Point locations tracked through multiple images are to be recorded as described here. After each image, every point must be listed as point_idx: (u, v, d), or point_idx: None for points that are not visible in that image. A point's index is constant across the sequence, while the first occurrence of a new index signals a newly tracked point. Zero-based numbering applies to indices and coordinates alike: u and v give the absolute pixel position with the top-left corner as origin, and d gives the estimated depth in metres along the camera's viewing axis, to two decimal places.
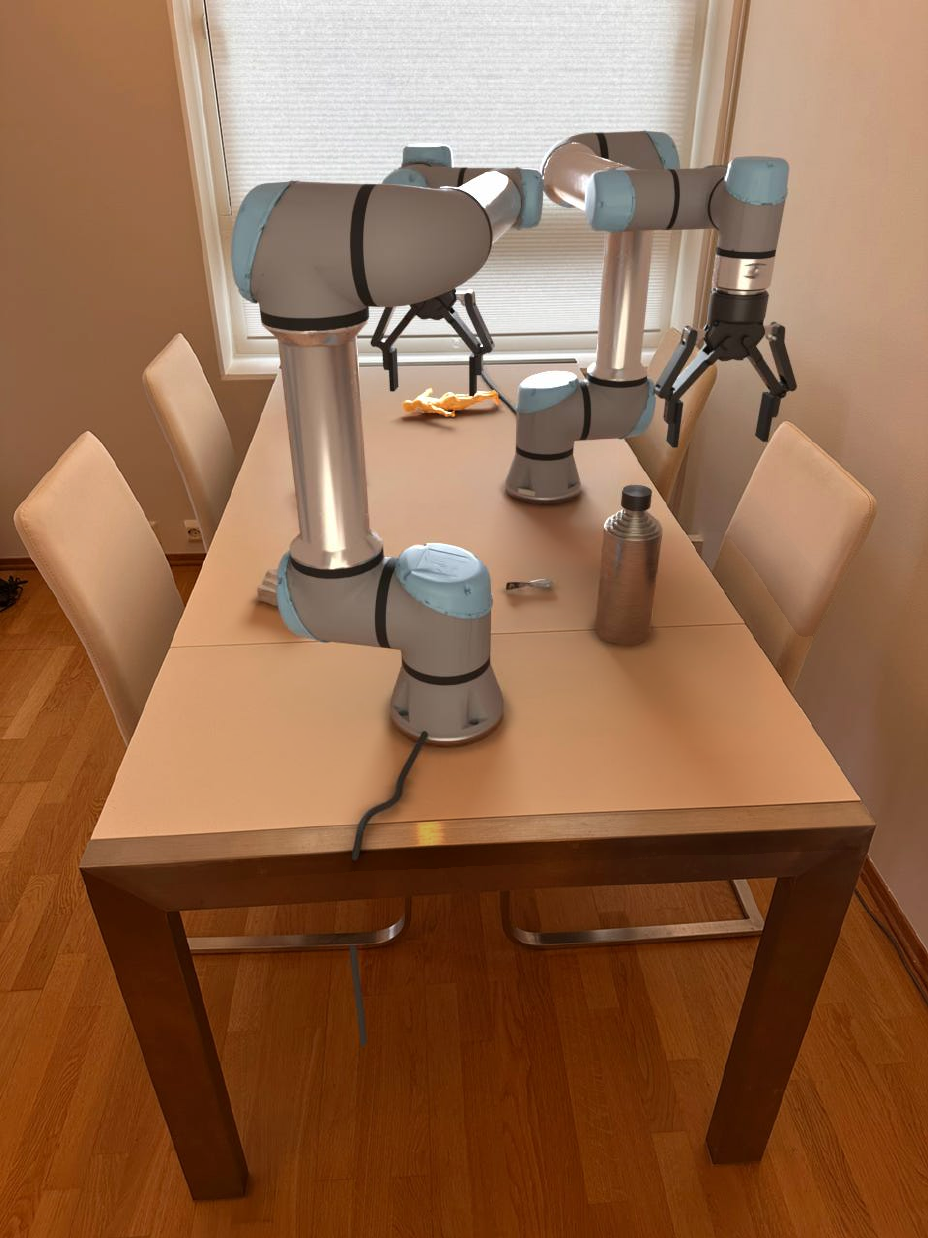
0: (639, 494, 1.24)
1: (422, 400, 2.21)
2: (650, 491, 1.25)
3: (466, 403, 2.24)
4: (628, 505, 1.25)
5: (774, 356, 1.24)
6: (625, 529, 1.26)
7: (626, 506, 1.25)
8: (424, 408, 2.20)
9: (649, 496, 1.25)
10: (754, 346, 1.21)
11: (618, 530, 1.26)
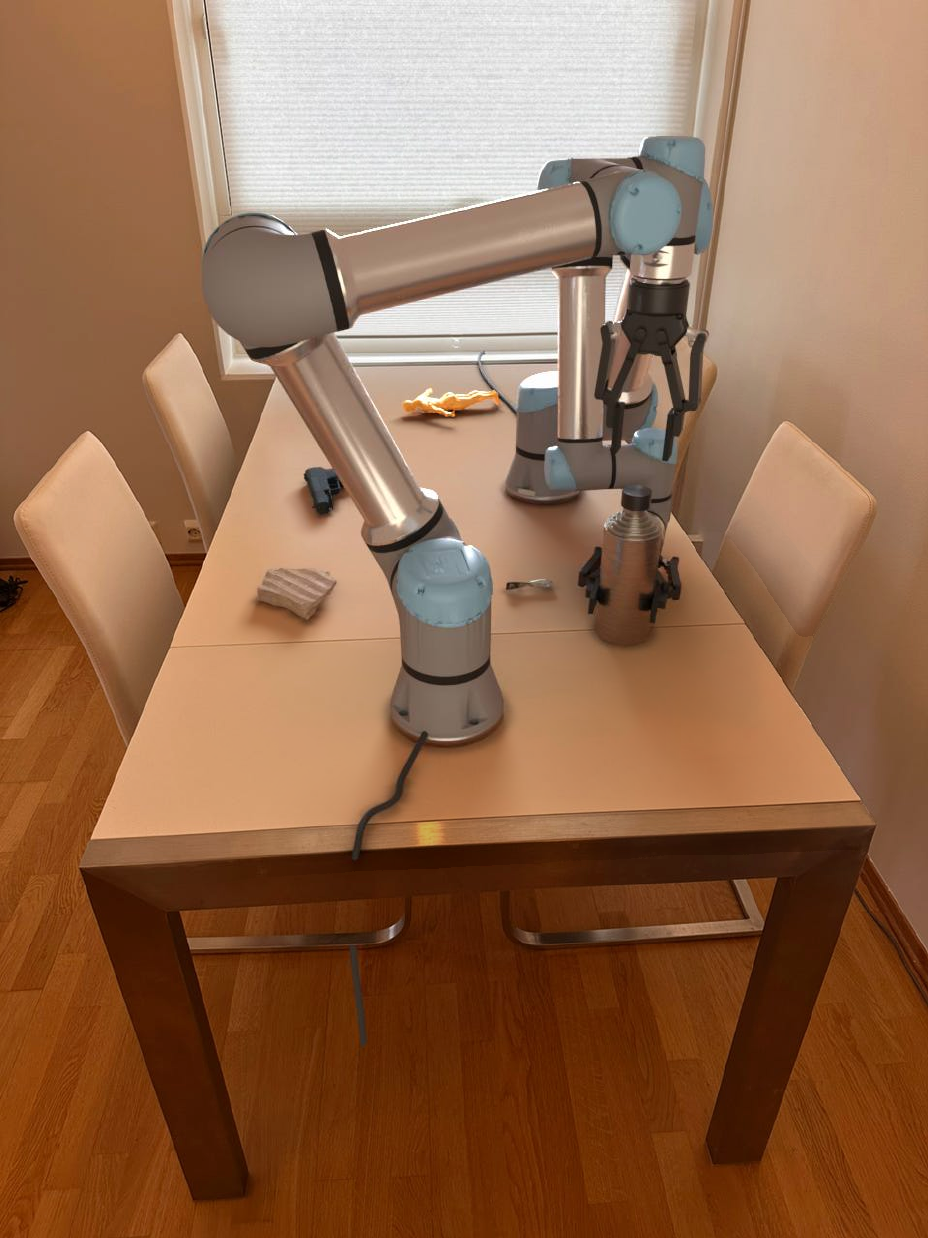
0: (639, 494, 1.24)
1: (422, 400, 2.21)
2: (650, 491, 1.25)
3: (466, 403, 2.24)
4: (628, 505, 1.25)
5: (596, 563, 1.42)
6: (625, 529, 1.26)
7: (626, 506, 1.25)
8: (424, 408, 2.20)
9: (649, 496, 1.25)
10: None
11: (618, 530, 1.26)
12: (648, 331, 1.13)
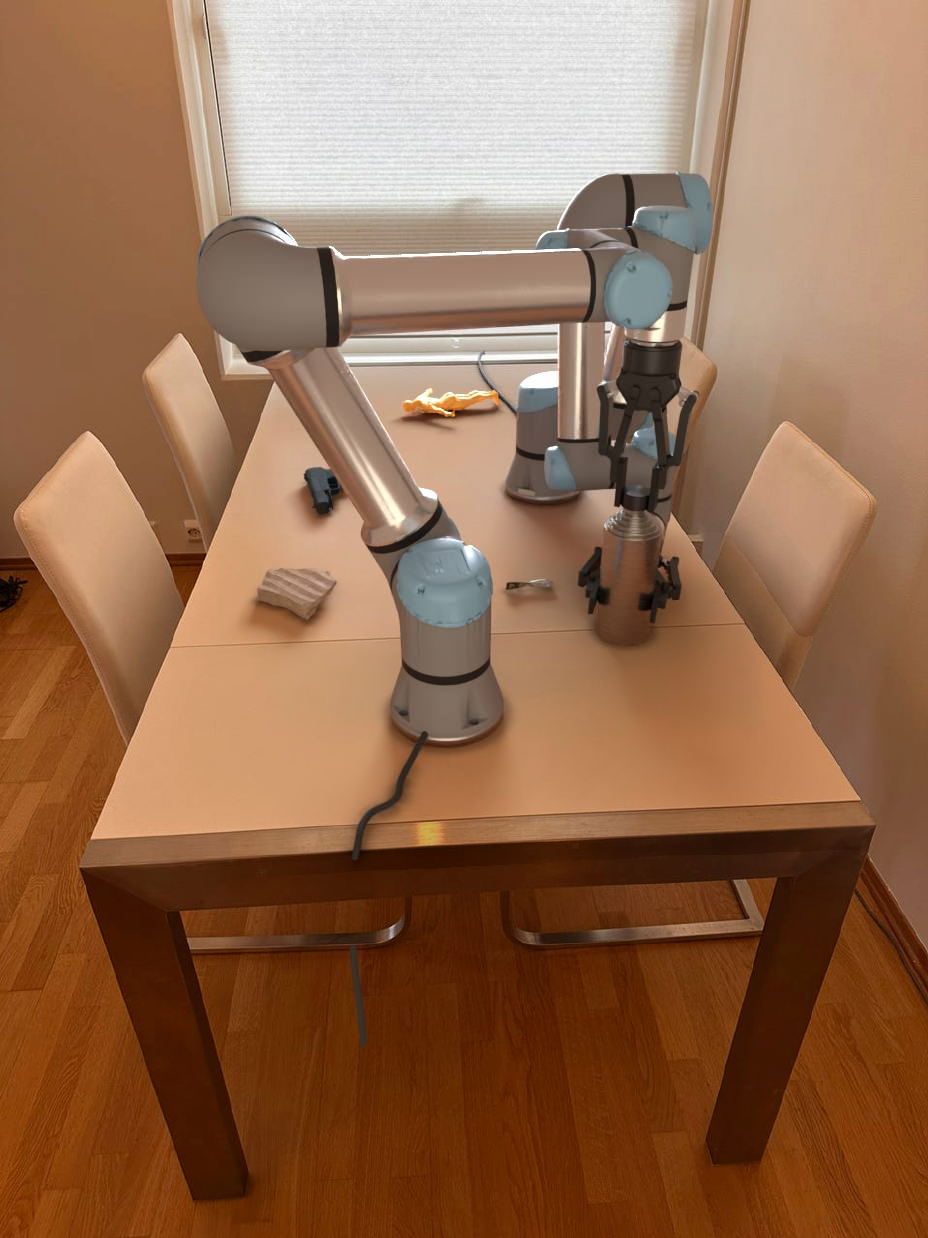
0: (639, 494, 1.24)
1: (422, 400, 2.21)
2: None
3: (466, 403, 2.24)
4: (628, 505, 1.25)
5: (596, 563, 1.42)
6: (625, 529, 1.26)
7: (626, 506, 1.25)
8: (424, 408, 2.20)
9: None
10: None
11: (618, 530, 1.26)
12: (642, 389, 1.17)
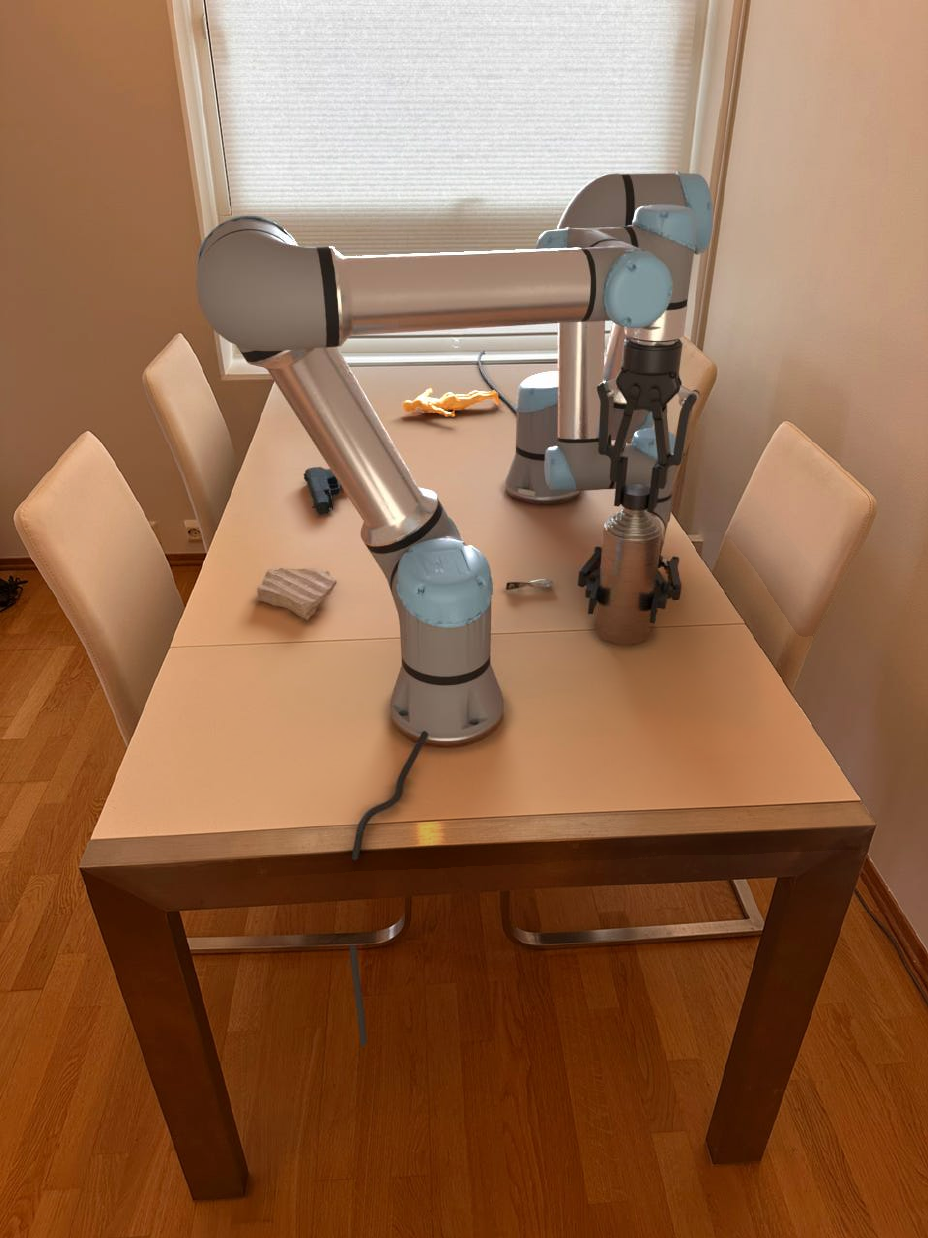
0: (645, 488, 1.26)
1: (422, 400, 2.21)
2: (634, 484, 1.27)
3: (466, 403, 2.24)
4: None
5: (596, 563, 1.42)
6: (625, 529, 1.26)
7: None
8: (424, 408, 2.20)
9: None
10: None
11: (618, 530, 1.26)
12: (642, 388, 1.17)
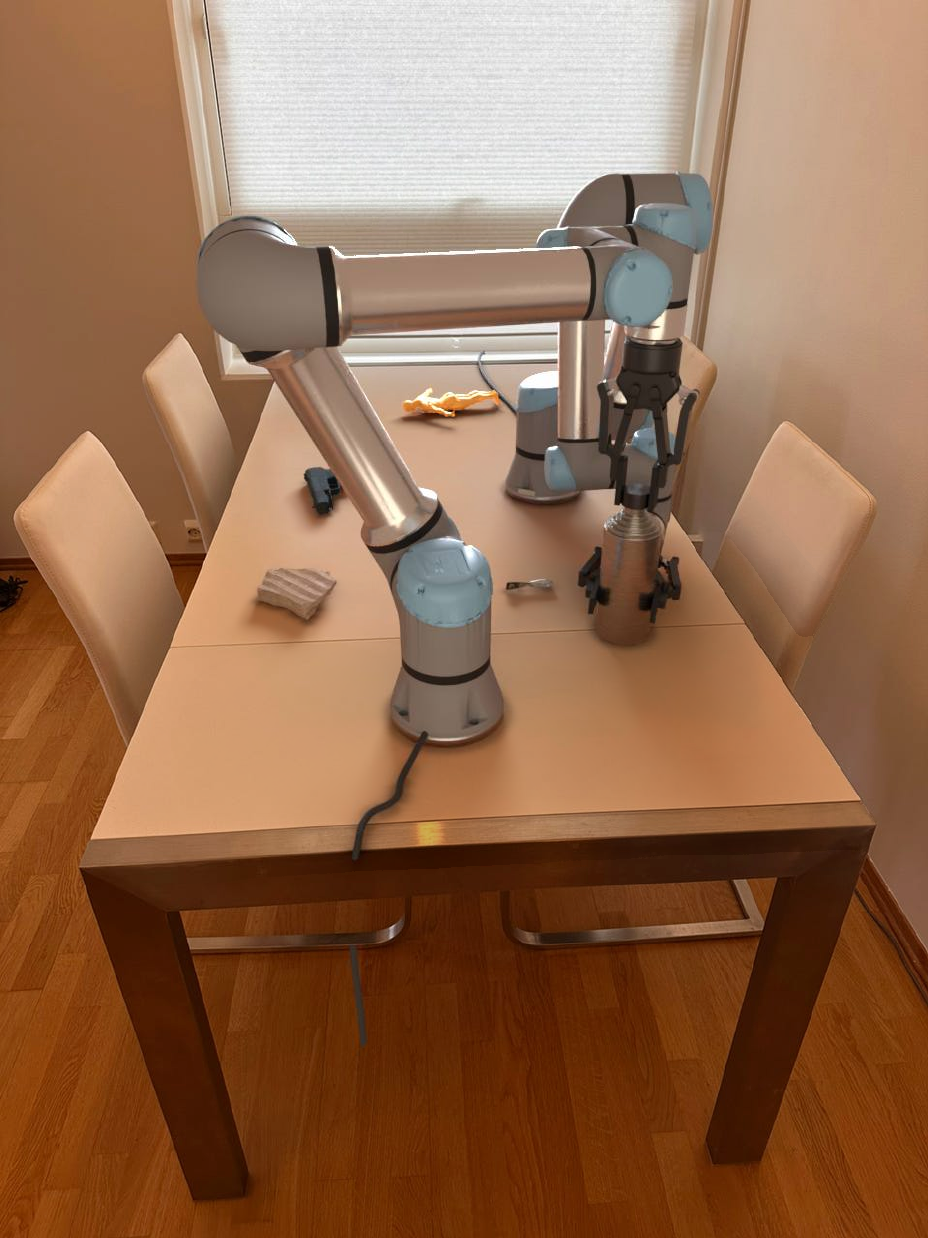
0: (630, 486, 1.26)
1: (422, 400, 2.21)
2: (625, 490, 1.25)
3: (466, 403, 2.24)
4: None
5: (596, 563, 1.42)
6: (625, 529, 1.26)
7: None
8: (424, 408, 2.20)
9: (622, 489, 1.26)
10: None
11: (618, 530, 1.26)
12: (642, 387, 1.17)
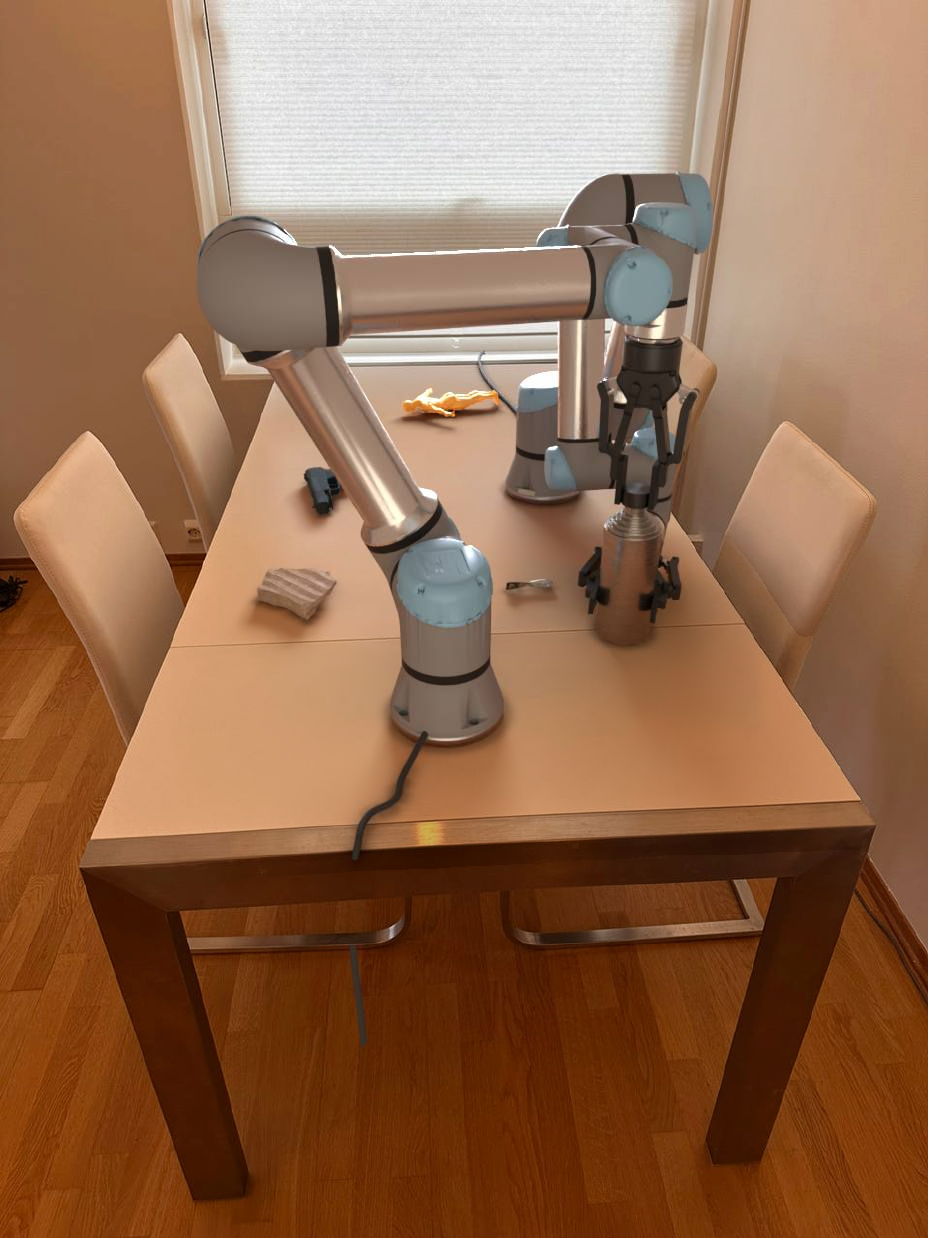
0: (632, 491, 1.24)
1: (422, 400, 2.21)
2: (647, 492, 1.24)
3: (466, 403, 2.24)
4: (622, 499, 1.26)
5: (596, 563, 1.42)
6: (625, 529, 1.26)
7: (621, 500, 1.26)
8: (424, 408, 2.20)
9: (640, 496, 1.24)
10: None
11: (618, 530, 1.26)
12: (642, 386, 1.17)
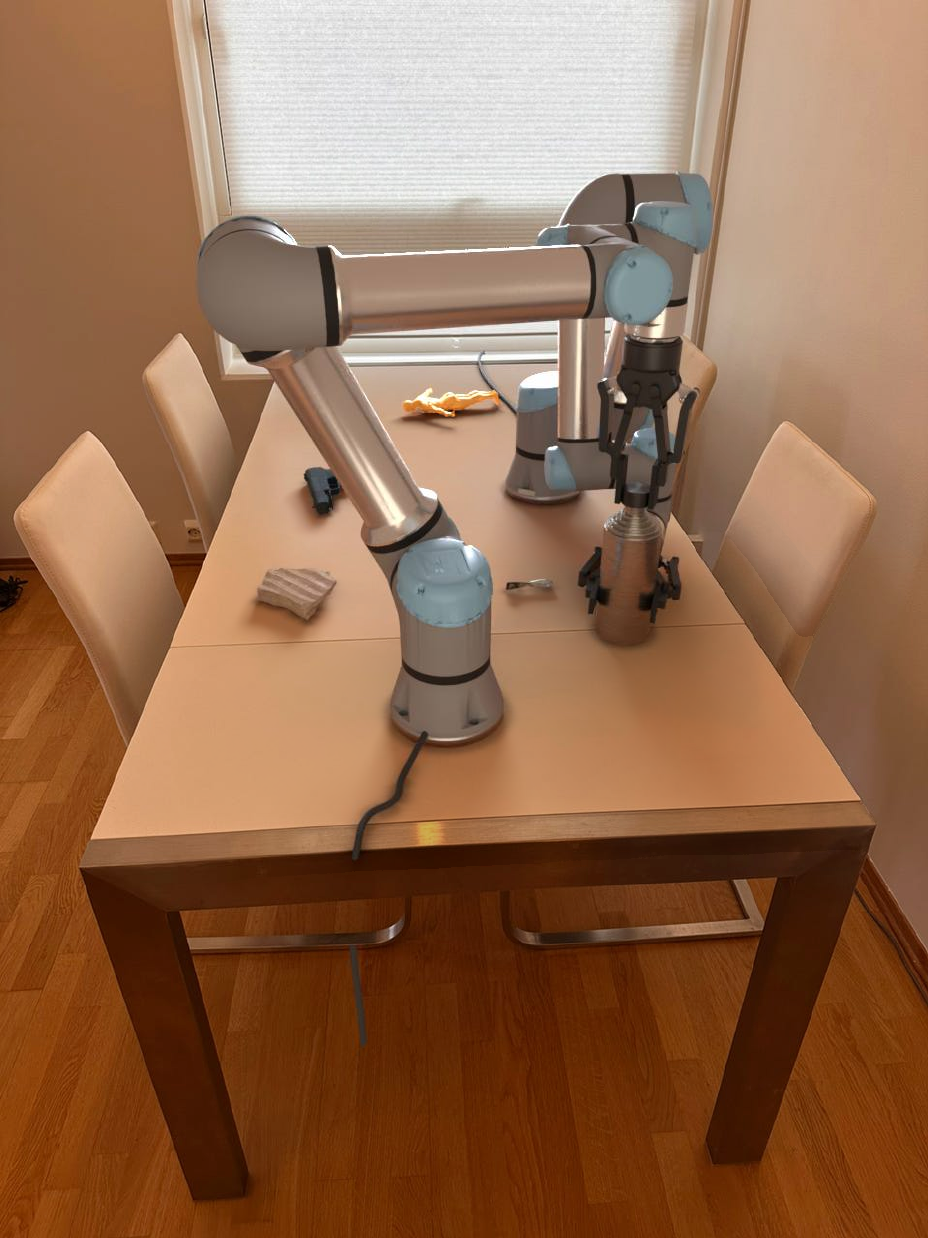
0: (646, 489, 1.25)
1: (422, 400, 2.21)
2: (643, 483, 1.27)
3: (466, 403, 2.24)
4: (644, 503, 1.25)
5: (596, 563, 1.42)
6: (625, 529, 1.26)
7: (642, 505, 1.25)
8: (424, 408, 2.20)
9: None
10: None
11: (618, 530, 1.26)
12: (642, 385, 1.17)
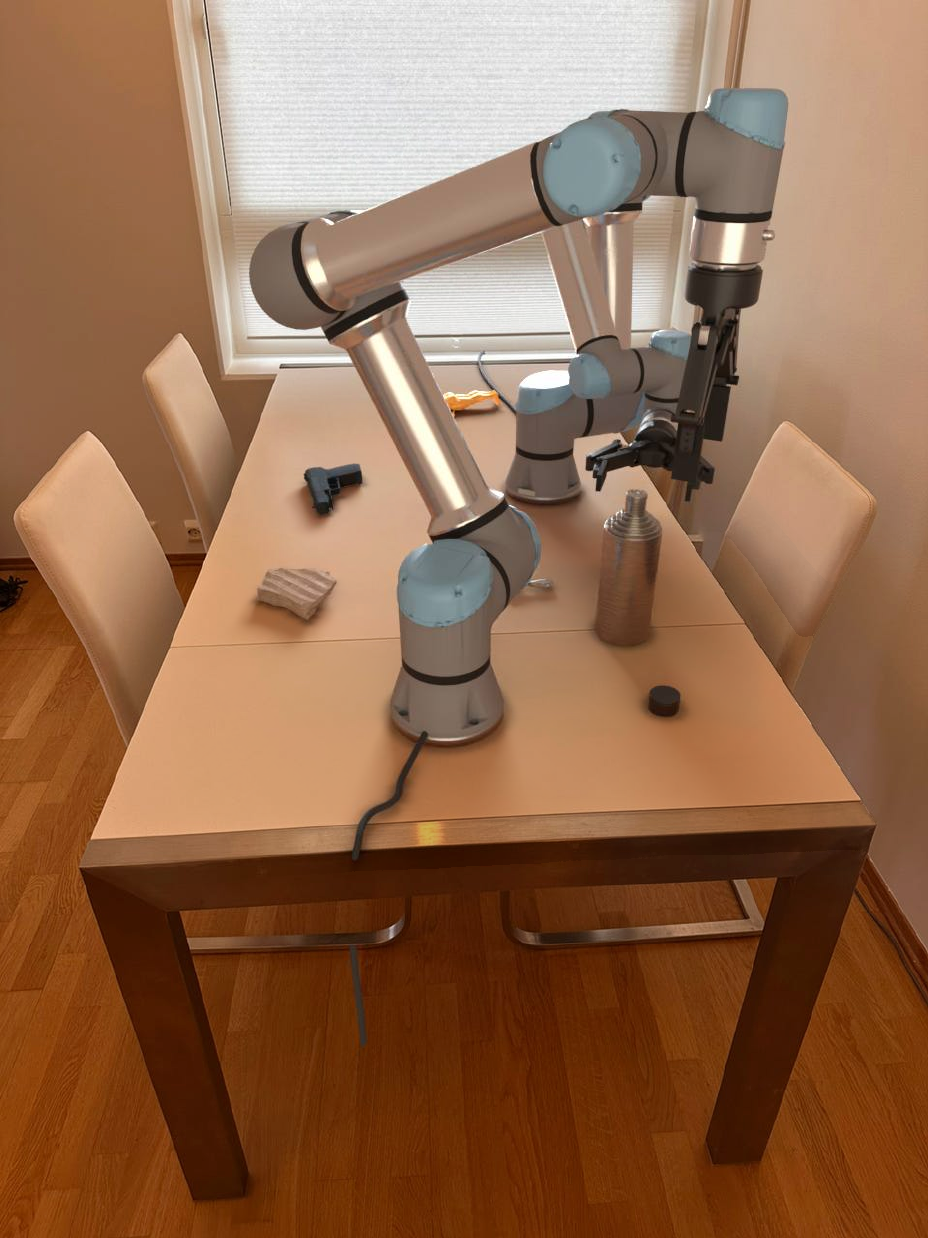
0: (667, 689, 1.22)
1: None
2: (653, 689, 1.21)
3: (466, 403, 2.24)
4: None
5: (609, 452, 1.47)
6: (625, 529, 1.26)
7: None
8: None
9: None
10: None
11: (618, 530, 1.26)
12: None
